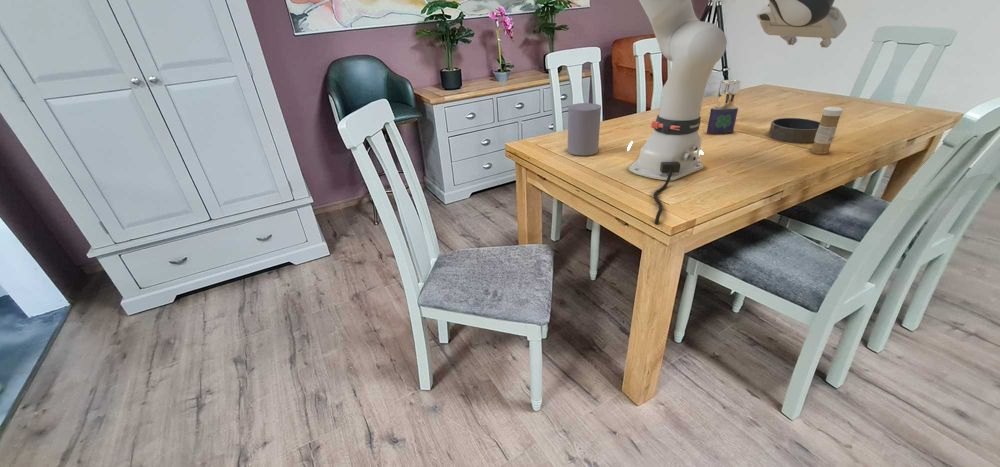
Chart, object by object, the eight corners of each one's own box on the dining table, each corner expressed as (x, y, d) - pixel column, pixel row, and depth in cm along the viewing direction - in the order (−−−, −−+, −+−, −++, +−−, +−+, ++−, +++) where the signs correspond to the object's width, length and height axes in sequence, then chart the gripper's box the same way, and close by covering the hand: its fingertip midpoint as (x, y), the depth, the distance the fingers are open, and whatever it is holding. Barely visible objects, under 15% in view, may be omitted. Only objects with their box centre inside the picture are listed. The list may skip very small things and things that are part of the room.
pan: (814, 146, 133) (818, 132, 130) (762, 138, 142) (765, 125, 140) (825, 134, 141) (829, 121, 139) (775, 128, 151) (779, 115, 149)
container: (573, 145, 147) (574, 102, 140) (601, 148, 143) (604, 104, 135) (562, 154, 139) (563, 109, 132) (592, 157, 135) (595, 111, 127)
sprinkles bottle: (819, 149, 130) (833, 105, 123) (832, 153, 126) (847, 108, 119) (806, 150, 129) (820, 107, 123) (818, 155, 125) (833, 110, 119)
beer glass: (708, 120, 165) (716, 81, 157) (723, 118, 166) (731, 79, 159) (721, 124, 159) (730, 83, 151) (736, 122, 160) (745, 81, 153)
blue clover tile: (731, 131, 151) (737, 101, 145) (734, 133, 148) (741, 103, 143) (705, 132, 151) (710, 102, 146) (708, 135, 149) (714, 104, 144)
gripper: (845, -7, 96) (858, 36, 103) (767, -4, 113) (783, 32, 120) (825, 16, 97) (840, 57, 104) (750, 15, 113) (768, 50, 121)
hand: (809, 44), depth 112 cm, fingers open, 8 cm apart
